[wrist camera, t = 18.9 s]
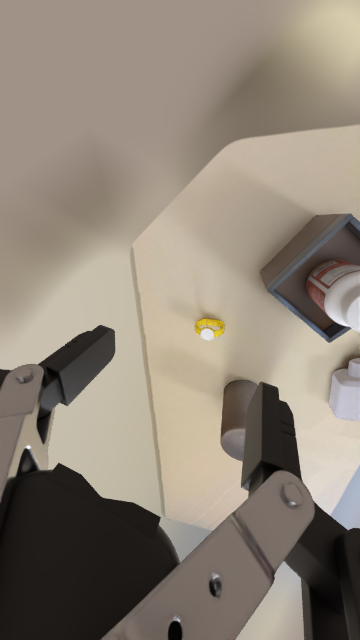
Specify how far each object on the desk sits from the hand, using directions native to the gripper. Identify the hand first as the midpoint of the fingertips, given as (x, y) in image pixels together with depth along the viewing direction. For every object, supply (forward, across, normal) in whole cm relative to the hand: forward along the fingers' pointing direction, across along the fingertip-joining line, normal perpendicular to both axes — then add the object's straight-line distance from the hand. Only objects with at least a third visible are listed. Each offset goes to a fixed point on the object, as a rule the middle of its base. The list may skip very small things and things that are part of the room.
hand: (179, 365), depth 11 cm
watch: (+32, +1, +16) cm, 36 cm away
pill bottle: (+26, -13, 0) cm, 29 cm away
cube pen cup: (+34, -13, +1) cm, 37 cm away
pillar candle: (+32, -11, +34) cm, 47 cm away
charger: (+34, -30, +20) cm, 50 cm away
